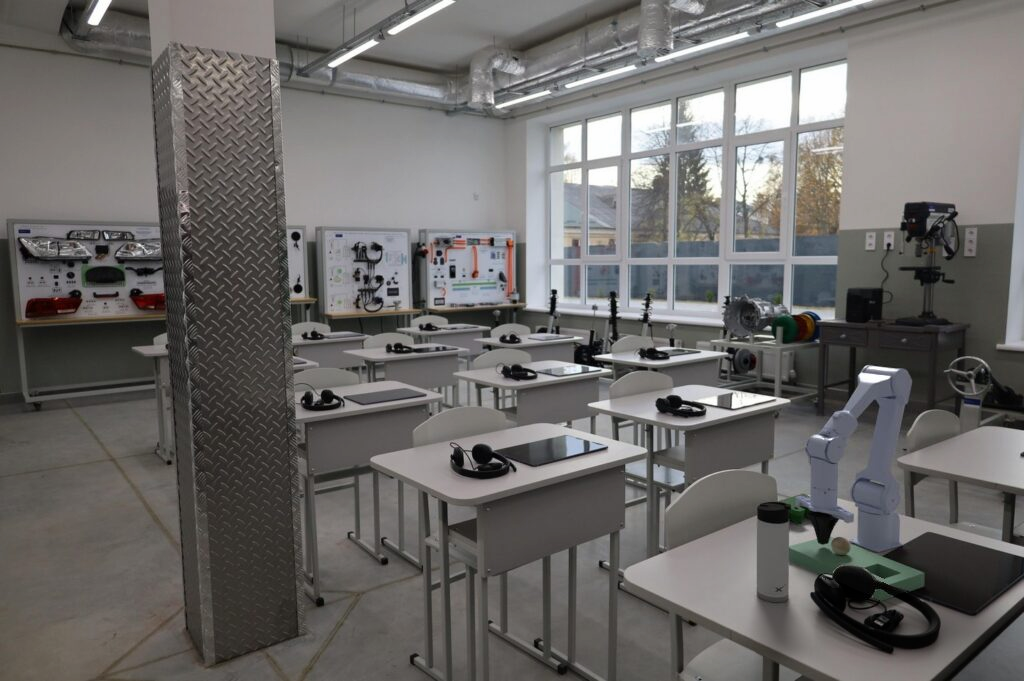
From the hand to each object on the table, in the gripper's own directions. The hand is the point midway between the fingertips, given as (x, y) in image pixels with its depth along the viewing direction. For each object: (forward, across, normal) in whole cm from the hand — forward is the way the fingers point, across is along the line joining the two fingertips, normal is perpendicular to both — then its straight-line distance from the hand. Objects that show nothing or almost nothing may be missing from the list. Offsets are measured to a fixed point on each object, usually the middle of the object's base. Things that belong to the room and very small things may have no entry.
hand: (823, 543), depth 158 cm
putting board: (+4, +8, 0) cm, 9 cm away
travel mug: (+4, +8, -24) cm, 26 cm away
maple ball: (-1, +5, 0) cm, 5 cm away
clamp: (+4, -21, +16) cm, 27 cm away
